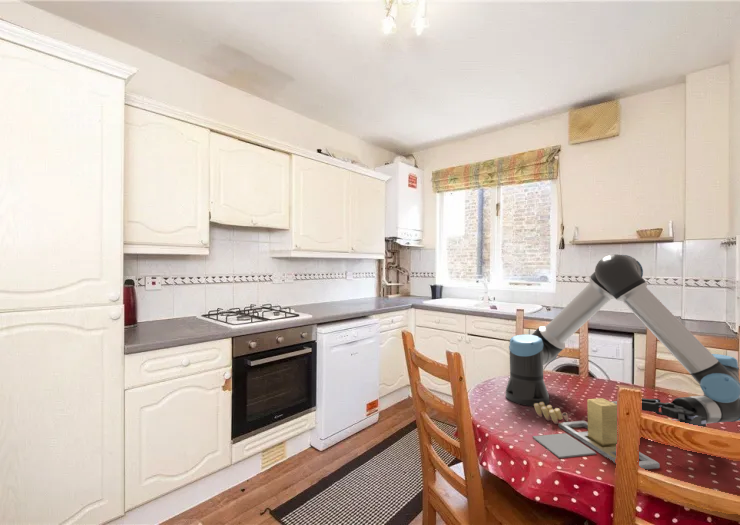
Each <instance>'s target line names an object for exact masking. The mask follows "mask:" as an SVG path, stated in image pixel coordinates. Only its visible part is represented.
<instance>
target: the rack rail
mask: <svg viewBox="0 0 740 525" xmlns="http://www.w3.org/2000/svg"><path fill="white" fill-rule="evenodd" d="M558 428H560V429H562V430H563V431H565V433H567V434H568V435H570V436H571V437H573V438H574V439H576V440H577V441H579V442H580V443H582V444H584V445H585V446H587V447H588V448H590V449H591V450H593V451H594V452H596V453H598V454H600V455H602V456H603V457H604V458H606V457H607V459H608V458H609V459H610V460H609V459H608V460H609V461H611V460H612V461H613V463H614V464H616V463H615V459H616V446H613V447H604V448H602V447H601V446H599V445H597V444H596V443H594V442H593V441H591V440H589V439H588V421H585V420H575V421H563V422H558ZM574 428H576V429H577V428H585V429H587V431H576V430H575V429H574ZM638 460H639V466H640V467H641V468H644V469H647V470H655V469H660V462H658V461H657V460H655V459H653V458H651V457H649V456H648V455H646V454H644V453H642V452H641V451H639V459H638ZM612 461H611V462H612Z"/></svg>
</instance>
